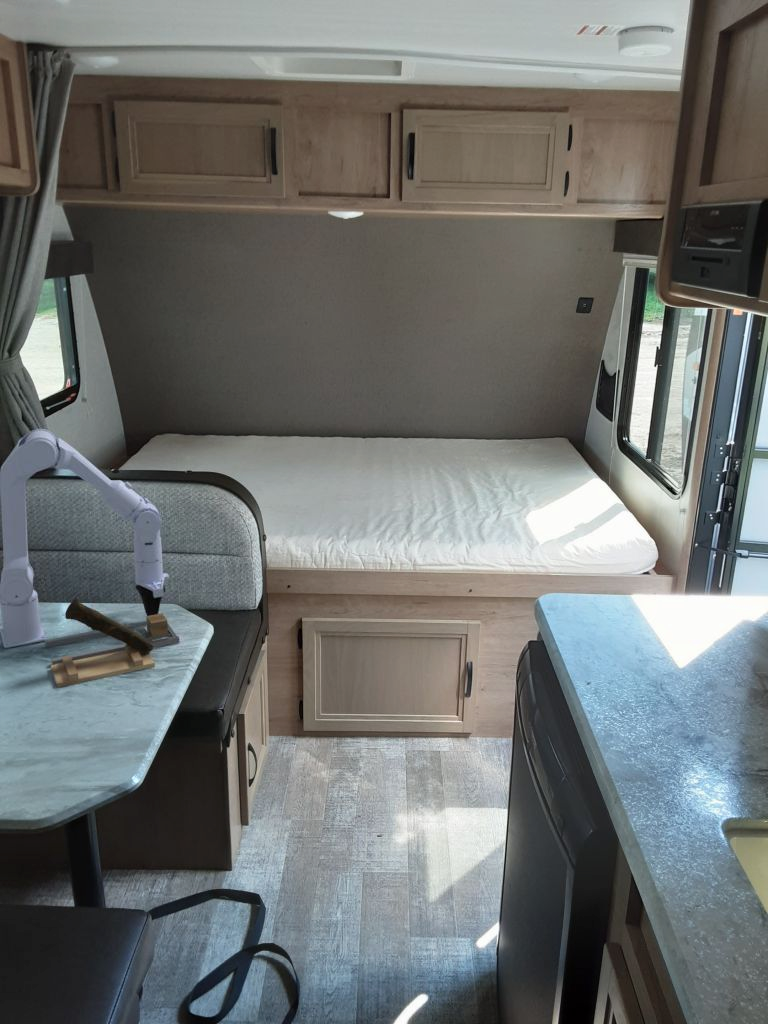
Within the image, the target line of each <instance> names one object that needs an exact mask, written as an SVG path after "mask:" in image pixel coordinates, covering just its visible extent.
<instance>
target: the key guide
mask: <svg viewBox="0 0 768 1024" xmlns="http://www.w3.org/2000/svg"><path fill="white" fill-rule="evenodd" d="M167 625H168V635H169V634H170V635H169V636H170V637H165V638H160V639H154V640H153V638H151V636H150V635H149V633H148V632H147V628H145V626H144V625H140V626H139V631H140V632H141V635H142V636H143V637H144V638H145V639H147V640H148V641H149V642H150V643H151V644H152V645H153V649H156V648H161V647H166V646H171V645H176V644H180V643H181V642H180V637H179V635H177V634H176V632H175V631H174V630H173V628H172V627H171V626H170V624H169V623H168V622H167Z"/></svg>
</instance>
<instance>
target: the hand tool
mask: <svg viewBox="0 0 768 1024" xmlns="http://www.w3.org/2000/svg"><path fill="white" fill-rule="evenodd" d="M64 615H65V616H64V618H65V619H66V620H71V621H72V620H73V621H77V622H79V623H81V624H83V625H85V626H87V627H88V628H90V629H91V631H96V630H98V631H100V632H102V633H104V634H106V635H109V637H111V638H113V639H116V640H117V641H119V642H122V643H123V644H127V645H128V646H130V647H132V648H135V649H136V650H140V651H143V652H148V653H150V652H152V651H153V650H154V648H153V645H152V644H151V643H150V642H149V641H148V640H147V639H145V637H144V636H143V634H140V633H139V632H138V631H136V630H134V629H133V630H132V629H129V628H127V627H125V626H124V625H125V624H124V625H123V624H122V623H120V622H118V621H117V620H114V619H113V618H110V617H108V616H106V615H104V614H103V613H101V612H99V611H98V610H96V609H93V608H92V607H89V606H87V605H85V604H84V603H81V602H80V601H79V599H78V597H75V598H73V600H72V601H71V602H70V604H69V605H68V607H67V608H66V610H65V614H64Z"/></svg>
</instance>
